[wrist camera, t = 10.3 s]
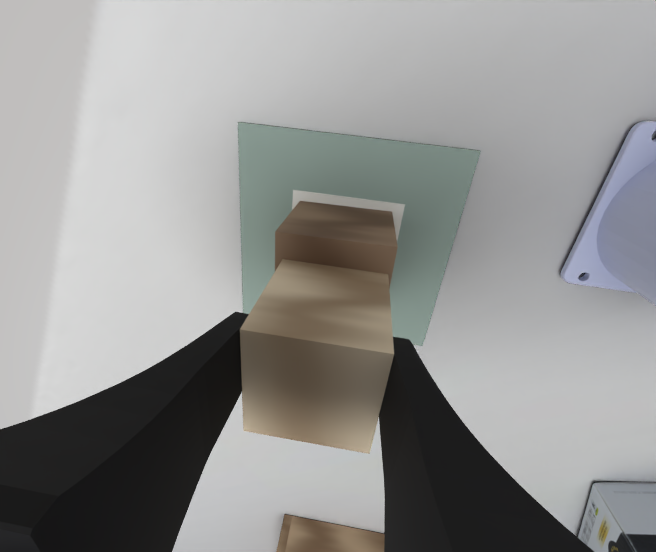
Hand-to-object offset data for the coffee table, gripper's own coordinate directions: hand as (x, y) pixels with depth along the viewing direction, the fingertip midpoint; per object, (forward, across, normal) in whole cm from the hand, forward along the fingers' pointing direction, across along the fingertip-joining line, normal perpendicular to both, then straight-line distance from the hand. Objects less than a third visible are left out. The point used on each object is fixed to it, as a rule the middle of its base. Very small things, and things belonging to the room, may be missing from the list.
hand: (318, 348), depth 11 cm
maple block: (+4, 0, +1) cm, 4 cm away
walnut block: (+9, 0, 0) cm, 9 cm away
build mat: (+9, 0, 0) cm, 9 cm away
